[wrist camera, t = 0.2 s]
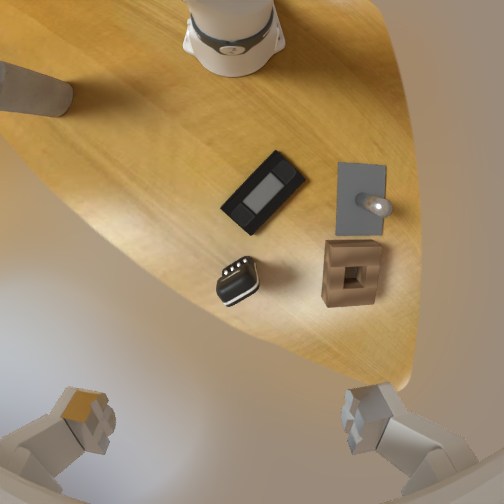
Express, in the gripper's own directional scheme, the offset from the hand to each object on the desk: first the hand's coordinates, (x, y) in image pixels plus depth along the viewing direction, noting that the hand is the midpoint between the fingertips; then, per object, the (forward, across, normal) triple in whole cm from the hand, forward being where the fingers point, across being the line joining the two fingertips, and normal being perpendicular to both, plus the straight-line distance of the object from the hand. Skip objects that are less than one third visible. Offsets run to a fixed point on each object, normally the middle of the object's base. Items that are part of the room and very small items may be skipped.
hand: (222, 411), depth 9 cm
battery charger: (+48, +1, +12) cm, 49 cm away
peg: (+47, -24, 0) cm, 53 cm away
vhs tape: (+48, -5, -2) cm, 48 cm away
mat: (+47, -24, 0) cm, 53 cm away
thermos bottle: (+48, +37, -25) cm, 65 cm away
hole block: (+47, -21, +14) cm, 54 cm away
